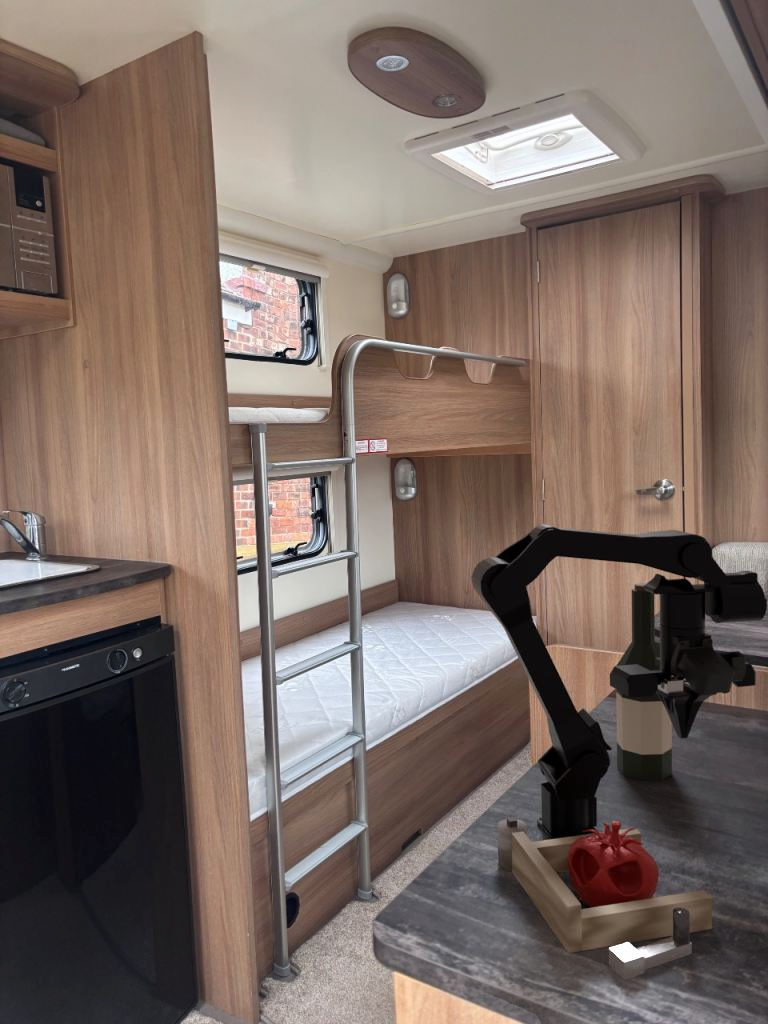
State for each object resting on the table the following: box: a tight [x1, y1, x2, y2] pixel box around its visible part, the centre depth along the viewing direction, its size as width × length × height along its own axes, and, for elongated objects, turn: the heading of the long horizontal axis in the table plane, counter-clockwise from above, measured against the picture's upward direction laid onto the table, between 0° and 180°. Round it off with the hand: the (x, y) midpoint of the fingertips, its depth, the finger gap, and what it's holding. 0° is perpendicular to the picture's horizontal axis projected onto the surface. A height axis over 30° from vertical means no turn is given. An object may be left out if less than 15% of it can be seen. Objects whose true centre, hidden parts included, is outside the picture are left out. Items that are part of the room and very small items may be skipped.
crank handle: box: [608, 907, 693, 980], centre depth 79 cm, size 9×2×4 cm, turn 111°
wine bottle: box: [615, 582, 673, 782], centre depth 123 cm, size 8×8×30 cm
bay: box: [497, 816, 713, 954], centre depth 91 cm, size 18×20×6 cm
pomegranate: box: [567, 820, 660, 908], centre depth 89 cm, size 10×10×9 cm
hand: (682, 737), depth 106 cm, fingers closed
